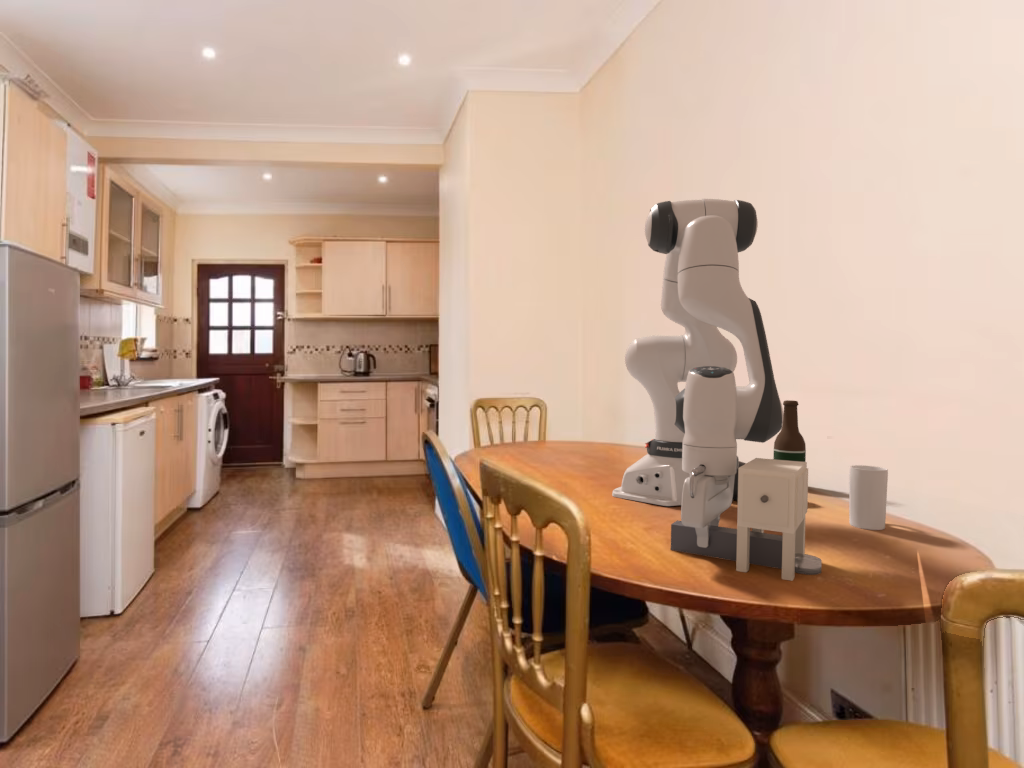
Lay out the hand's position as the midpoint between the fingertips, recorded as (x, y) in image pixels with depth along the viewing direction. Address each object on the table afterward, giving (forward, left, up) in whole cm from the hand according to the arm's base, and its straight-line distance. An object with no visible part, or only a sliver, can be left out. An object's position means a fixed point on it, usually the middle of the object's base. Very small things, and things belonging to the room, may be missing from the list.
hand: (707, 542), depth 103 cm
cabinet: (+10, 0, -2) cm, 10 cm away
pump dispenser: (-12, +47, +4) cm, 49 cm away
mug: (+22, +40, -2) cm, 45 cm away
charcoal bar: (+3, 0, -2) cm, 4 cm away
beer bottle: (+3, +70, -2) cm, 70 cm away
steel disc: (+15, 0, -2) cm, 15 cm away
